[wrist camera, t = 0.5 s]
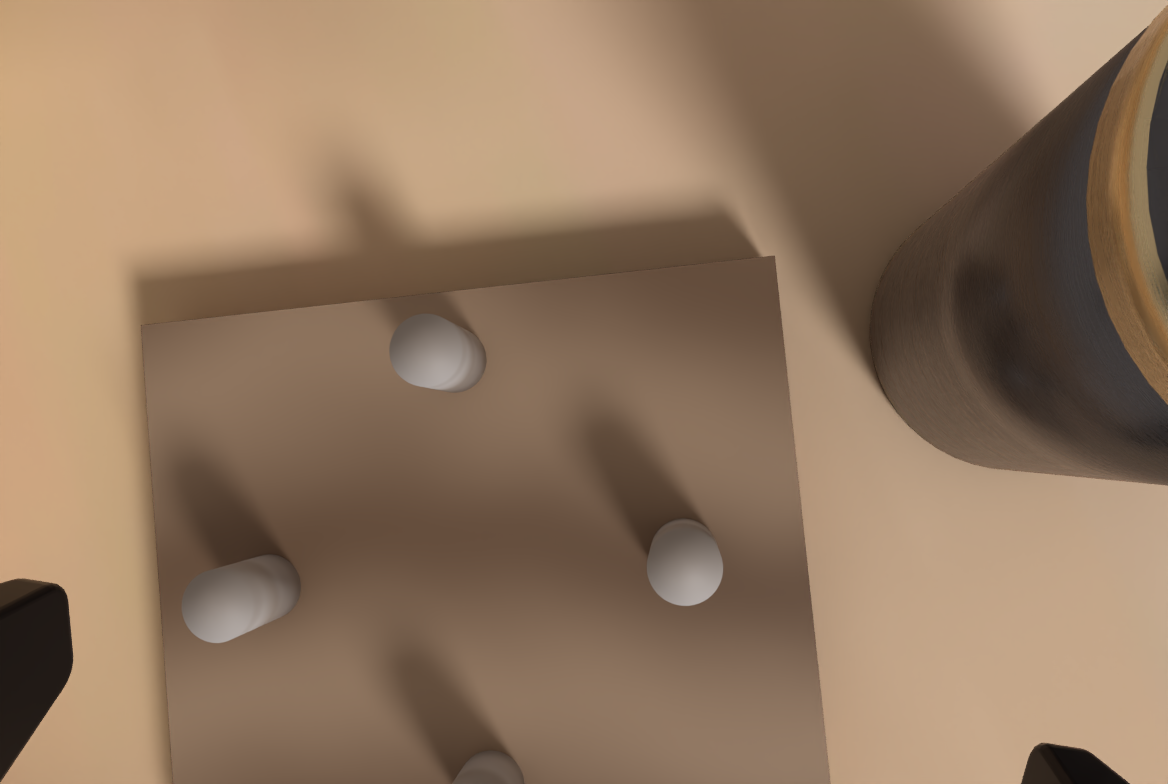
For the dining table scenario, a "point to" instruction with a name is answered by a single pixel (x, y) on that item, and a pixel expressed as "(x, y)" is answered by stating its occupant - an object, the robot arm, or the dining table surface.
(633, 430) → the peg board
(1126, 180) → the tea tin
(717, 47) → the dining table surface
